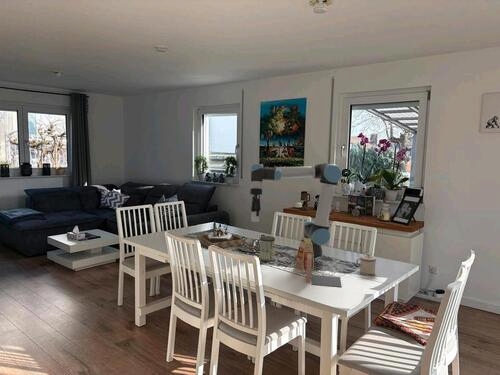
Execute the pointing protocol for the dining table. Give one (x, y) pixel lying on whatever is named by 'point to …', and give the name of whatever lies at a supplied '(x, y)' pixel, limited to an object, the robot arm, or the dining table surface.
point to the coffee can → (267, 248)
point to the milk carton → (304, 254)
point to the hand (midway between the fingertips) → (255, 221)
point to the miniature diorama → (219, 234)
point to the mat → (326, 281)
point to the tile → (309, 268)
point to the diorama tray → (237, 242)
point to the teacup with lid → (367, 264)
